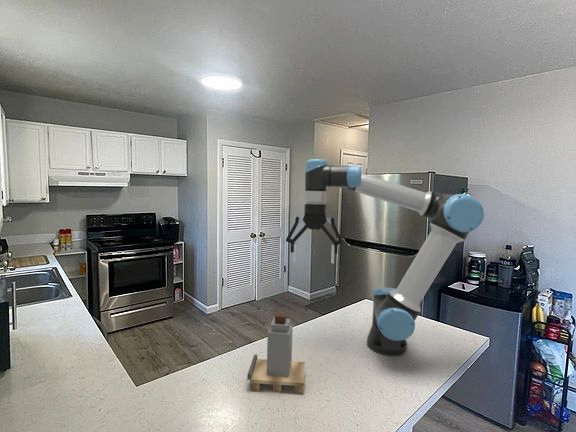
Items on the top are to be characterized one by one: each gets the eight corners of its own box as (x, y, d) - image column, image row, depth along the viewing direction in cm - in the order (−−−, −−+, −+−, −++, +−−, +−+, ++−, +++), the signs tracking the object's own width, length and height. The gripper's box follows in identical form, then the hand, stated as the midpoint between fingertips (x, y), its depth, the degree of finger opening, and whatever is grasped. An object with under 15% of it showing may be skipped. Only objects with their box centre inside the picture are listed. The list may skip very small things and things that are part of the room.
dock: (304, 371, 107) (305, 357, 107) (303, 394, 95) (304, 378, 95) (254, 368, 108) (254, 354, 108) (247, 390, 96) (247, 374, 96)
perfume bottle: (288, 377, 98) (290, 319, 96) (266, 375, 99) (267, 317, 97) (291, 365, 104) (292, 311, 103) (271, 363, 105) (272, 310, 104)
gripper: (349, 203, 118) (347, 261, 119) (281, 202, 119) (280, 258, 121) (351, 204, 110) (349, 265, 112) (279, 202, 112) (278, 263, 113)
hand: (313, 262), depth 116 cm, fingers open, 13 cm apart
